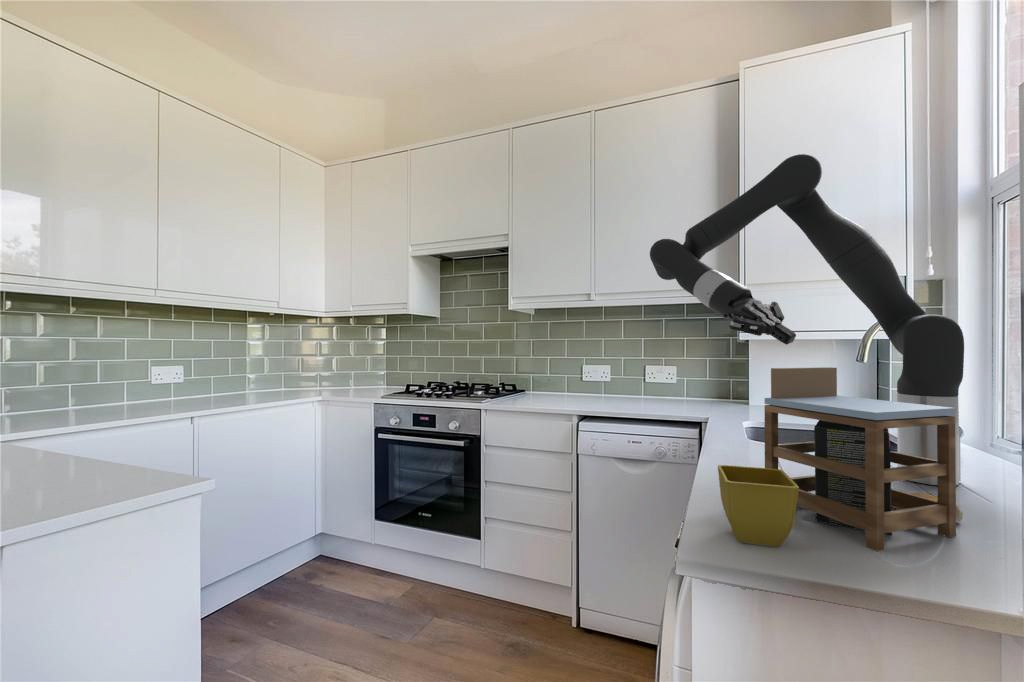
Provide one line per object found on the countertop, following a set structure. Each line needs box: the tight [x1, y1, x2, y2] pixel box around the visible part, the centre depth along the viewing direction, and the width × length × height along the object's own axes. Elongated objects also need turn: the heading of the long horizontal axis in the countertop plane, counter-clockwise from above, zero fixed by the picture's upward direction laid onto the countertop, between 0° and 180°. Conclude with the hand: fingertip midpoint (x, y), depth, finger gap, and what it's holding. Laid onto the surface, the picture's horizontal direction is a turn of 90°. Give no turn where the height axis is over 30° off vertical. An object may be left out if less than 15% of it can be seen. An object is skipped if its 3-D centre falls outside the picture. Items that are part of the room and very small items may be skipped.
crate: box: [764, 404, 957, 552], centre depth 71 cm, size 16×18×17 cm
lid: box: [764, 366, 955, 420], centre depth 71 cm, size 16×18×6 cm
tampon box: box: [813, 420, 893, 537], centre depth 71 cm, size 11×9×15 cm
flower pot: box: [717, 464, 799, 548], centre depth 64 cm, size 9×9×9 cm
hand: (792, 339), depth 87 cm, fingers closed
